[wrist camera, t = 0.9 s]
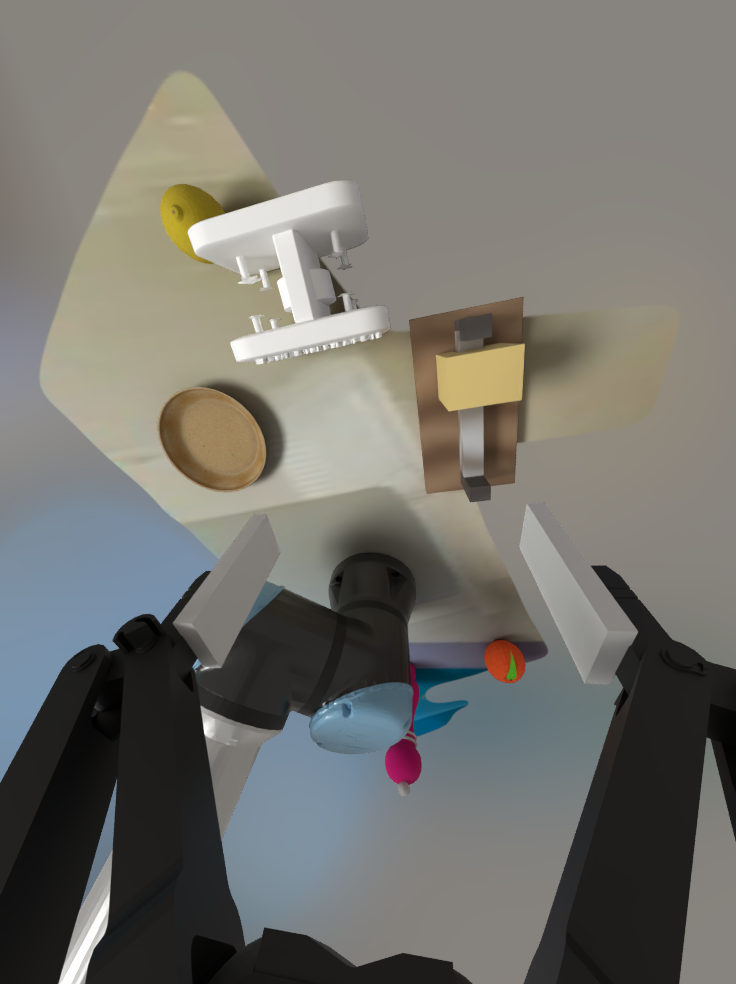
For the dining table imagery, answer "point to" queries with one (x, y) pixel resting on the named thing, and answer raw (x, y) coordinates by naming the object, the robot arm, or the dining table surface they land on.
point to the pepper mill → (405, 751)
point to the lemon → (187, 214)
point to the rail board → (447, 420)
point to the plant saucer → (212, 439)
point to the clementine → (504, 661)
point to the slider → (480, 376)
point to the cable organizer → (295, 267)
